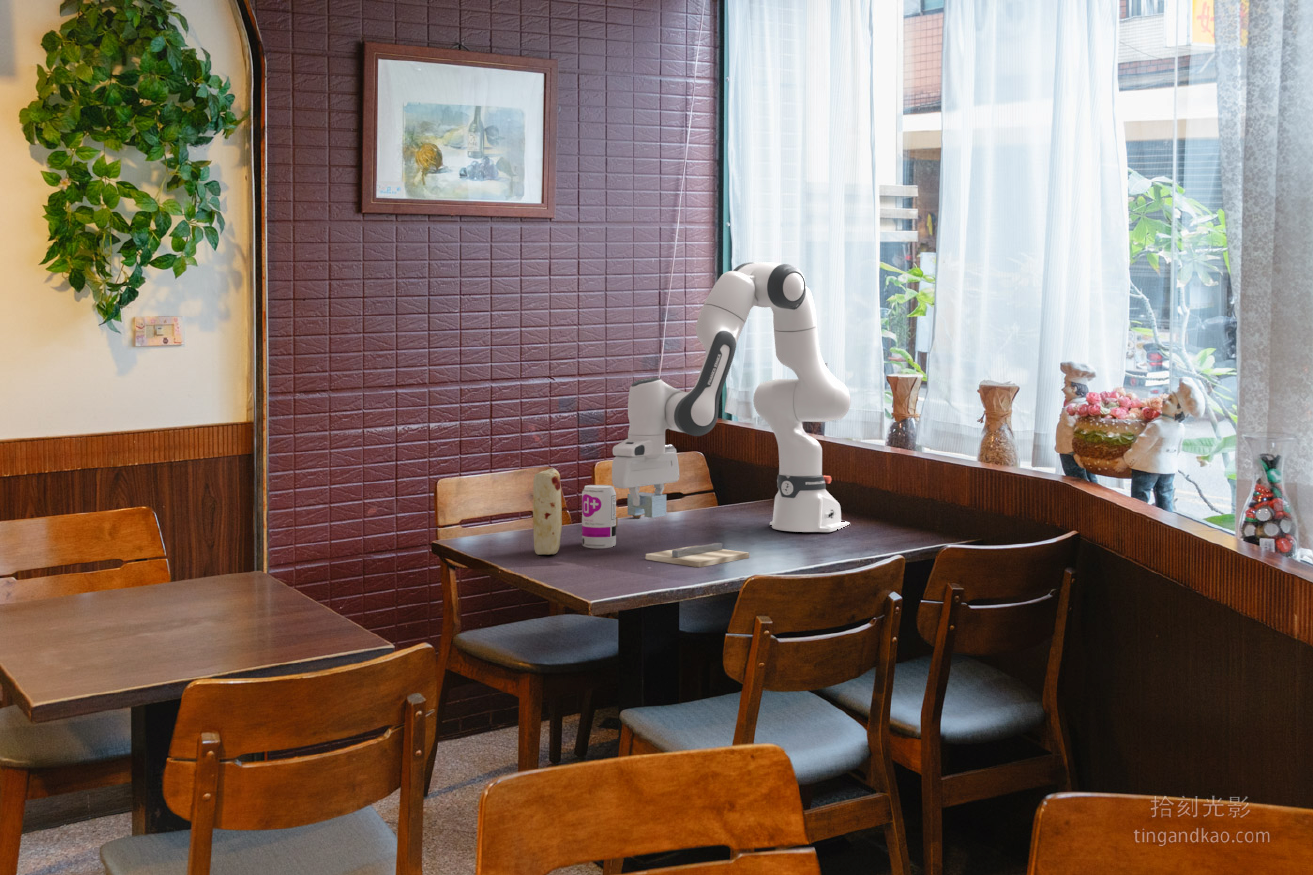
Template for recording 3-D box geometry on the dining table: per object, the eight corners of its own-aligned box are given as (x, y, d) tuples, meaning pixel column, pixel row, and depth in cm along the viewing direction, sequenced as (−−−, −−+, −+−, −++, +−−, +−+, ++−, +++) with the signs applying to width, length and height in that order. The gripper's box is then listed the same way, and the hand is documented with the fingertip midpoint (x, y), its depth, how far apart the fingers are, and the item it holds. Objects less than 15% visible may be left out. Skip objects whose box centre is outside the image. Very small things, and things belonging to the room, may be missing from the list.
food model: (564, 556, 277) (564, 470, 276) (535, 557, 275) (535, 471, 274) (559, 550, 286) (559, 467, 285) (531, 551, 285) (531, 467, 284)
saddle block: (641, 512, 290) (641, 492, 290) (666, 515, 285) (666, 494, 284) (627, 514, 286) (627, 493, 286) (652, 517, 281) (652, 496, 281)
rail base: (696, 550, 287) (696, 545, 287) (749, 557, 276) (749, 552, 276) (645, 559, 274) (645, 554, 273) (699, 567, 263) (699, 562, 263)
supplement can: (599, 551, 285) (599, 488, 284) (575, 547, 290) (575, 486, 289) (622, 547, 291) (622, 486, 290) (598, 544, 296) (598, 483, 295)
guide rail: (717, 549, 281) (717, 542, 281) (722, 549, 280) (722, 543, 280) (672, 557, 269) (672, 550, 269) (677, 557, 268) (677, 551, 268)
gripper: (666, 442, 294) (666, 498, 295) (607, 448, 279) (607, 507, 280) (685, 444, 290) (685, 500, 291) (626, 449, 275) (627, 509, 276)
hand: (646, 504), depth 285 cm, fingers closed on saddle block, 5 cm apart
